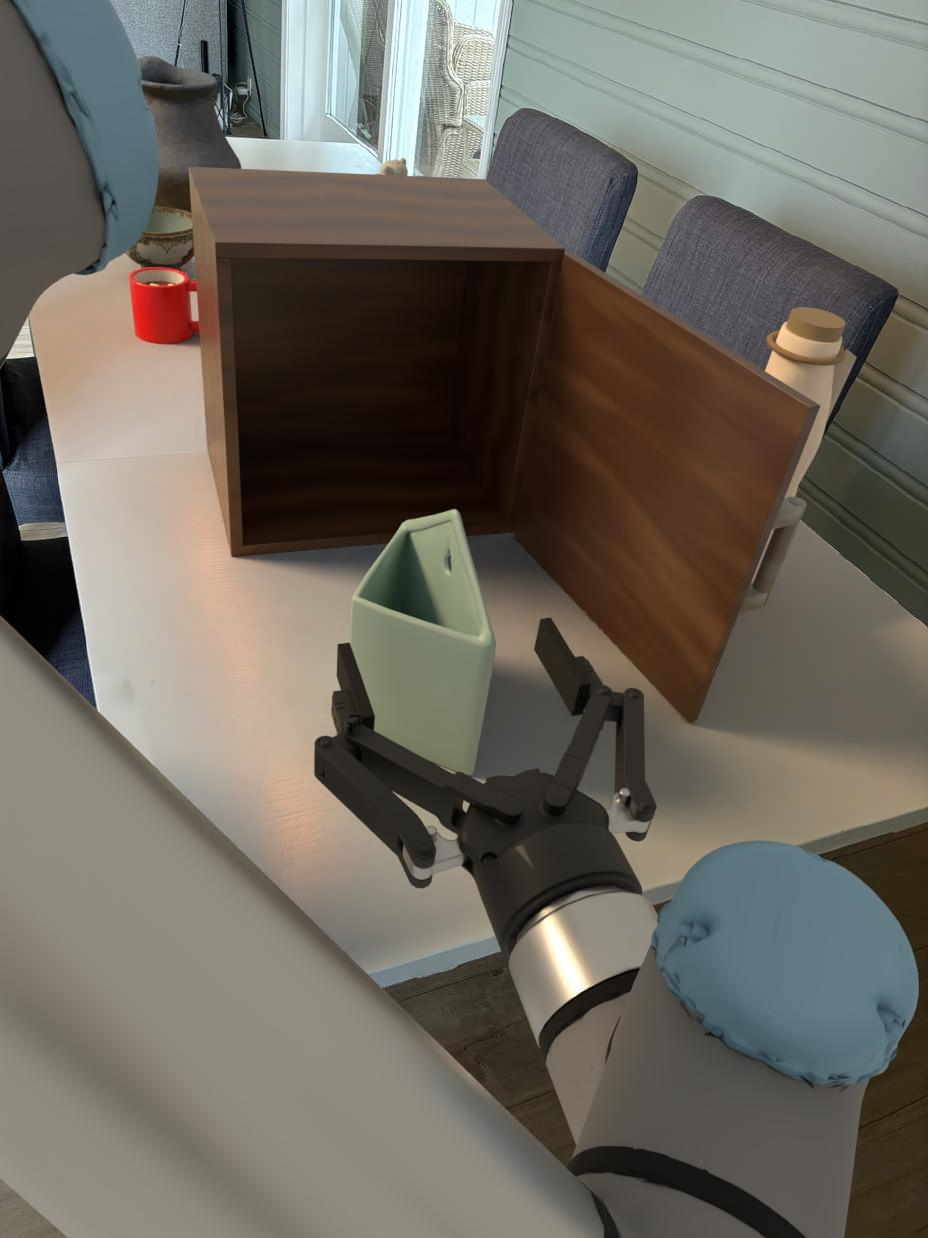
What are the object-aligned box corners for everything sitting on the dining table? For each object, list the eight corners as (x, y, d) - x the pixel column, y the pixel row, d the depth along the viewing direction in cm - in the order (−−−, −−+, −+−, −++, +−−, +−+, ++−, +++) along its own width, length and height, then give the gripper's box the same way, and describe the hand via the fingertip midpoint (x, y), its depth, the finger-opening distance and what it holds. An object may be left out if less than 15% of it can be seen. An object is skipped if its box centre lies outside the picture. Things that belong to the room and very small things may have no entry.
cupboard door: (564, 524, 102) (625, 250, 83) (746, 702, 83) (879, 395, 64) (512, 535, 99) (564, 253, 81) (688, 722, 80) (810, 407, 61)
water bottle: (724, 532, 105) (810, 291, 88) (789, 572, 100) (894, 325, 83) (667, 558, 100) (747, 306, 82) (733, 602, 95) (833, 343, 77)
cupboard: (514, 532, 100) (565, 248, 81) (231, 556, 91) (214, 242, 72) (453, 435, 116) (485, 178, 97) (207, 447, 106) (188, 166, 87)
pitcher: (168, 245, 157) (154, 80, 142) (100, 209, 168) (80, 52, 152) (264, 229, 170) (261, 76, 154) (196, 197, 180) (187, 50, 165)
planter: (314, 663, 80) (317, 466, 68) (397, 645, 83) (415, 454, 71) (382, 801, 69) (400, 596, 57) (475, 774, 72) (512, 575, 60)
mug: (222, 345, 129) (220, 289, 124) (133, 342, 126) (126, 285, 121) (222, 323, 134) (219, 269, 130) (136, 320, 132) (130, 265, 127)
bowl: (215, 281, 147) (213, 230, 142) (130, 287, 141) (124, 234, 136) (190, 253, 156) (187, 203, 151) (108, 257, 150) (102, 206, 145)
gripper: (319, 1034, 42) (252, 715, 58) (769, 918, 50) (606, 664, 65) (321, 945, 38) (248, 623, 53) (817, 833, 45) (629, 580, 61)
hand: (445, 645), depth 59 cm, fingers open, 13 cm apart
